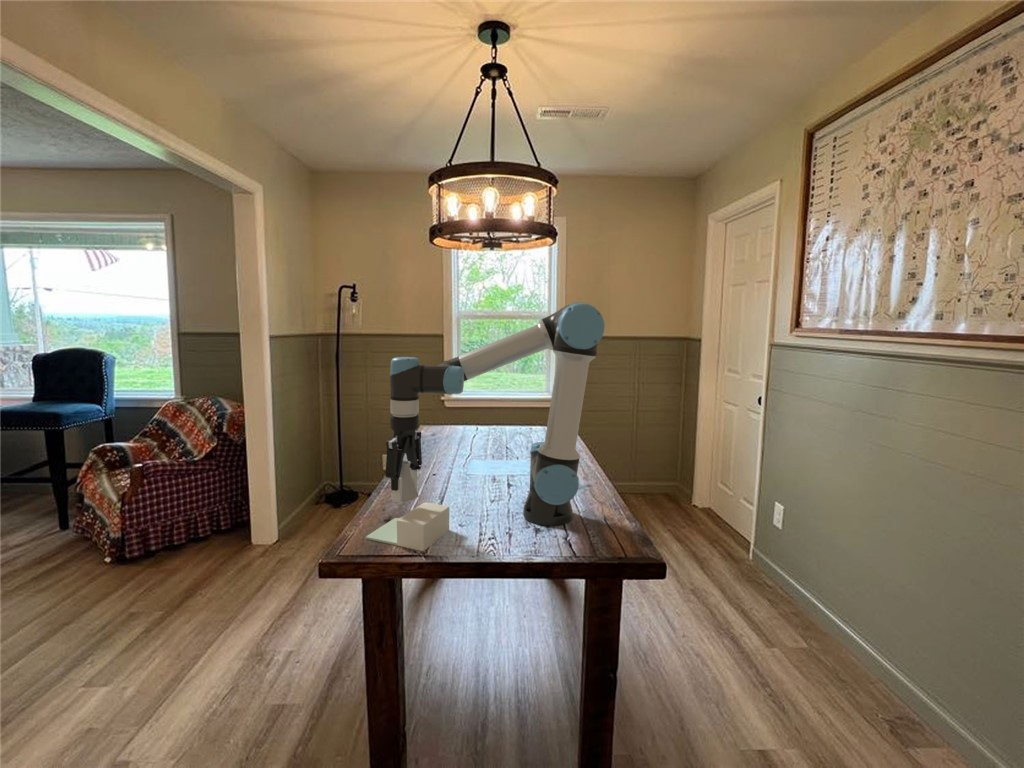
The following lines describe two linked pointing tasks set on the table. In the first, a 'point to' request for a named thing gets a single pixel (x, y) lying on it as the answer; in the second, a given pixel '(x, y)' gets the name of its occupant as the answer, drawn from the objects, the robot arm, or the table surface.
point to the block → (422, 526)
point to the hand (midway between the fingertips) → (404, 496)
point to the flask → (407, 483)
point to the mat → (385, 533)
